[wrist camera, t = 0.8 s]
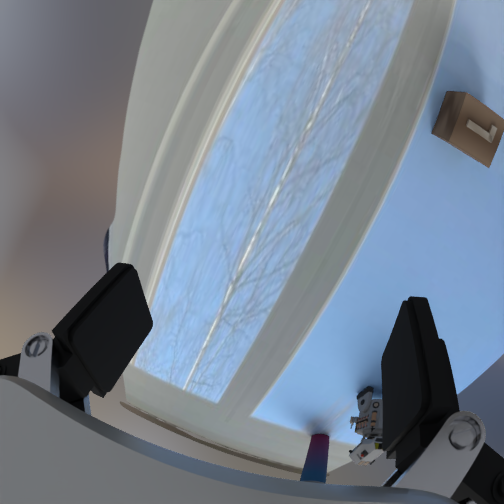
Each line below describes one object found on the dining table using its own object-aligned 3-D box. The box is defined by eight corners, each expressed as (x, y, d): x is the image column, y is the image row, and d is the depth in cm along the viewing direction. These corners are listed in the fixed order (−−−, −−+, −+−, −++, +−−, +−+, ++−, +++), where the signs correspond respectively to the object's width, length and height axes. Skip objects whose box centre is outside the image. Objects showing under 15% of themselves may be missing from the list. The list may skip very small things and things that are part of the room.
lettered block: (446, 91, 25) (467, 92, 19) (483, 115, 24) (508, 122, 19) (431, 133, 28) (449, 142, 23) (468, 155, 28) (490, 168, 22)
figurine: (341, 404, 58) (334, 463, 45) (373, 381, 51) (372, 447, 39) (371, 414, 58) (368, 469, 45) (404, 392, 51) (407, 453, 39)
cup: (337, 437, 67) (330, 484, 55) (320, 443, 71) (312, 487, 58) (320, 430, 66) (311, 479, 54) (303, 436, 70) (293, 482, 58)
